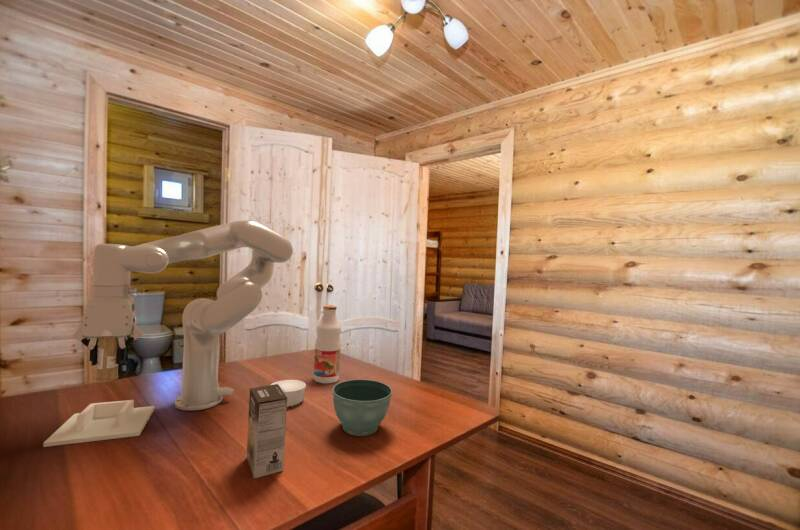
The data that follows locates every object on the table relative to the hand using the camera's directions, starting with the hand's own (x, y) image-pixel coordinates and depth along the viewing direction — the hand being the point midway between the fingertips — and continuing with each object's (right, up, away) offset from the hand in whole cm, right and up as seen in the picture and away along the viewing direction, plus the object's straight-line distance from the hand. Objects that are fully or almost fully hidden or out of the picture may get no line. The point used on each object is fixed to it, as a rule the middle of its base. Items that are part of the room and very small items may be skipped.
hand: (107, 362), depth 91 cm
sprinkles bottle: (0, -5, 0) cm, 5 cm away
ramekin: (+39, -19, +22) cm, 48 cm away
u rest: (-1, -16, 0) cm, 16 cm away
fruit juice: (+47, -19, +44) cm, 67 cm away
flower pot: (+64, -20, +6) cm, 67 cm away
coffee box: (+45, -19, -13) cm, 50 cm away
